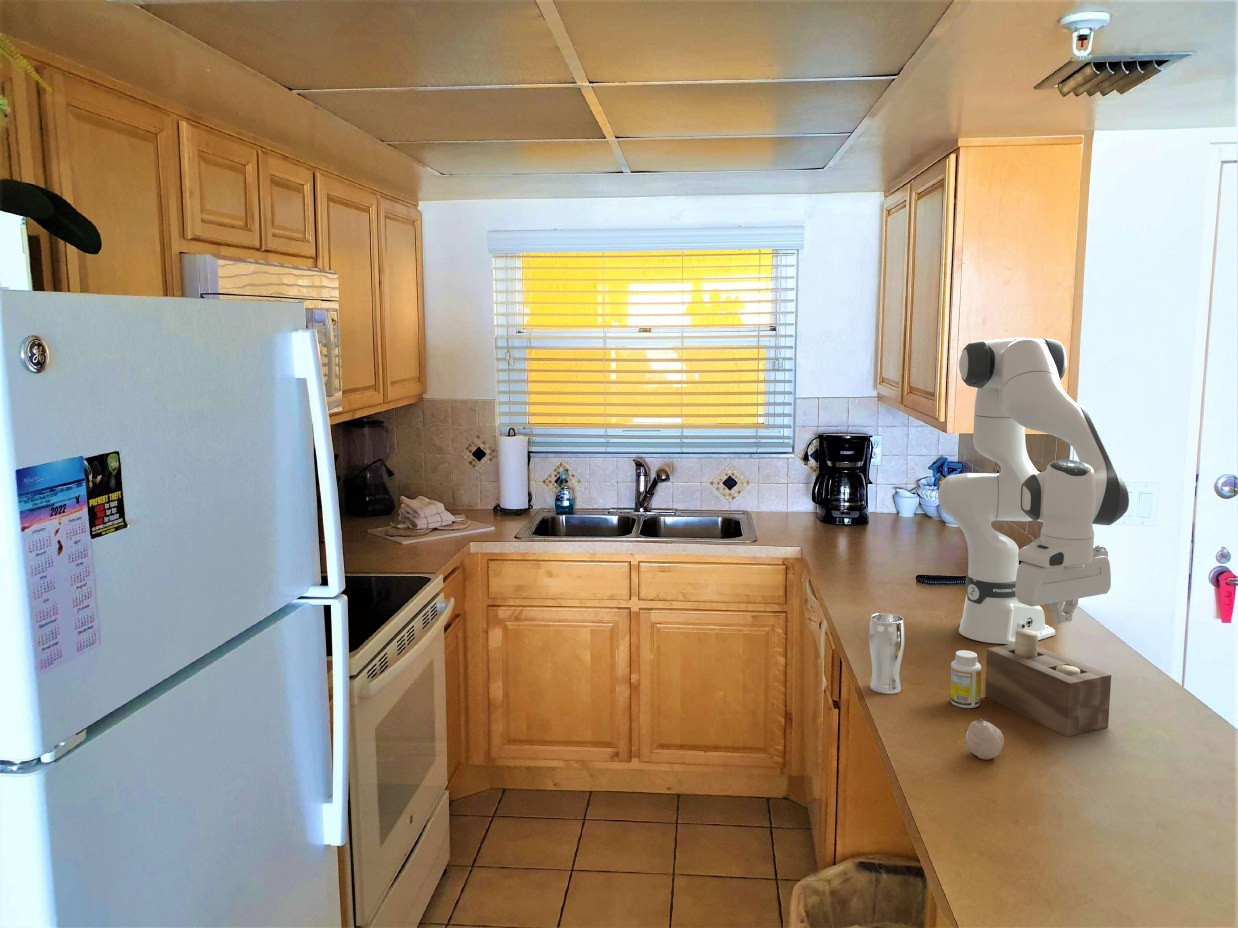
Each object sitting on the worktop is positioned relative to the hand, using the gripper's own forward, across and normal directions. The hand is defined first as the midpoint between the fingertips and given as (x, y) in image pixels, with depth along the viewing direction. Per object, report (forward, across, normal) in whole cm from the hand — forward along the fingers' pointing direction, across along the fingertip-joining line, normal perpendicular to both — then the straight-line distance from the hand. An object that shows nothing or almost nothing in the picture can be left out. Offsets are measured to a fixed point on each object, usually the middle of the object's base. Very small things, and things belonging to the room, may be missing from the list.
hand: (1062, 622), depth 170 cm
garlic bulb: (+18, +24, +7) cm, 32 cm away
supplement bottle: (+19, +11, -12) cm, 25 cm away
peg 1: (+14, 0, -8) cm, 16 cm away
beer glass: (+19, +20, -24) cm, 37 cm away
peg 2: (+17, 0, +2) cm, 17 cm away
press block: (+18, 0, -3) cm, 19 cm away
